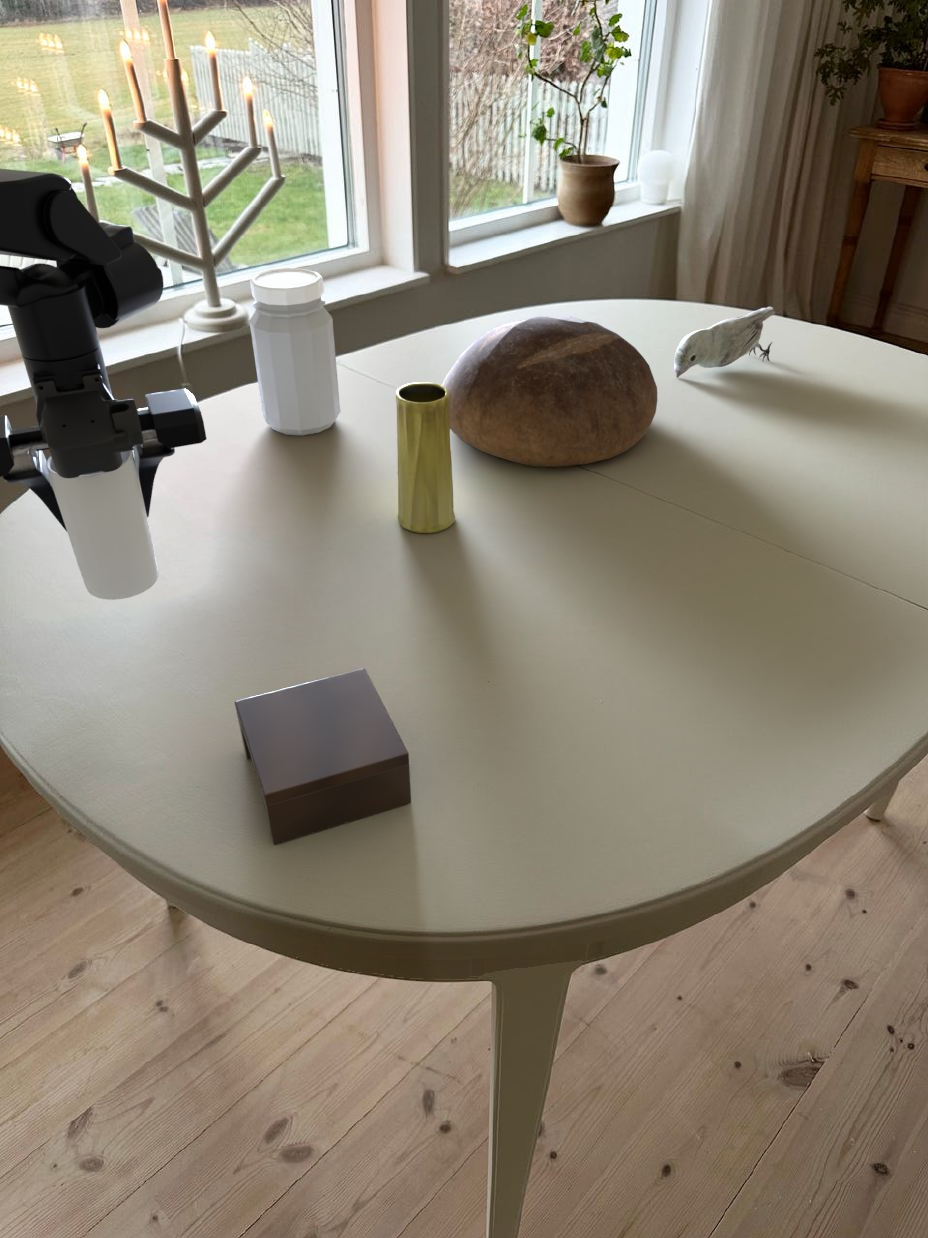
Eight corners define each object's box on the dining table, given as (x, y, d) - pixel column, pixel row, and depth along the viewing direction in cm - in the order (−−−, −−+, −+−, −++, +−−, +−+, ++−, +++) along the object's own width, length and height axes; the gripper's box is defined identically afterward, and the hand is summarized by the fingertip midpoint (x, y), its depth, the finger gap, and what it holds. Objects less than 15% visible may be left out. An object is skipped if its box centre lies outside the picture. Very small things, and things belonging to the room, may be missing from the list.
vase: (418, 540, 95) (413, 410, 86) (386, 516, 99) (379, 389, 90) (466, 522, 98) (466, 394, 89) (433, 499, 102) (430, 375, 93)
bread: (399, 418, 118) (394, 316, 111) (554, 370, 131) (560, 276, 124) (531, 497, 102) (537, 383, 94) (694, 433, 115) (711, 329, 107)
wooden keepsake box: (274, 845, 63) (264, 795, 60) (244, 749, 70) (234, 700, 67) (411, 803, 66) (409, 753, 63) (369, 715, 73) (365, 667, 70)
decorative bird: (663, 371, 131) (670, 319, 127) (749, 352, 137) (758, 301, 133) (687, 384, 127) (695, 331, 123) (775, 364, 134) (785, 312, 129)
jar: (250, 418, 119) (229, 275, 108) (317, 400, 123) (303, 260, 113) (286, 445, 112) (267, 296, 102) (355, 425, 117) (344, 280, 106)
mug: (174, 584, 82) (146, 460, 74) (99, 611, 78) (62, 485, 71) (130, 538, 88) (100, 420, 81) (59, 562, 85) (21, 441, 78)
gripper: (-79, 406, 62) (-8, 595, 72) (200, 366, 68) (232, 546, 77) (-71, 351, 71) (-8, 527, 80) (178, 319, 76) (209, 487, 86)
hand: (107, 522), depth 80 cm, fingers closed on mug, 6 cm apart
